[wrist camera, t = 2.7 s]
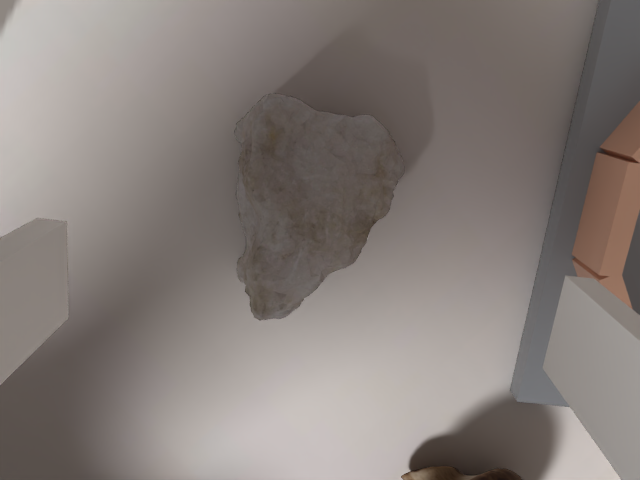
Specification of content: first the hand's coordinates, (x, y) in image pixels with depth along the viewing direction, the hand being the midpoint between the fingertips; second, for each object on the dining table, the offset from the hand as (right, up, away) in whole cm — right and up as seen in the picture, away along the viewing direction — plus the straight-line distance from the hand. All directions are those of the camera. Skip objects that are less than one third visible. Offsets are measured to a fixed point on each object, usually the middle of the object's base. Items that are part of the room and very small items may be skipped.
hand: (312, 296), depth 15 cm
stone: (-1, +4, +14) cm, 15 cm away
